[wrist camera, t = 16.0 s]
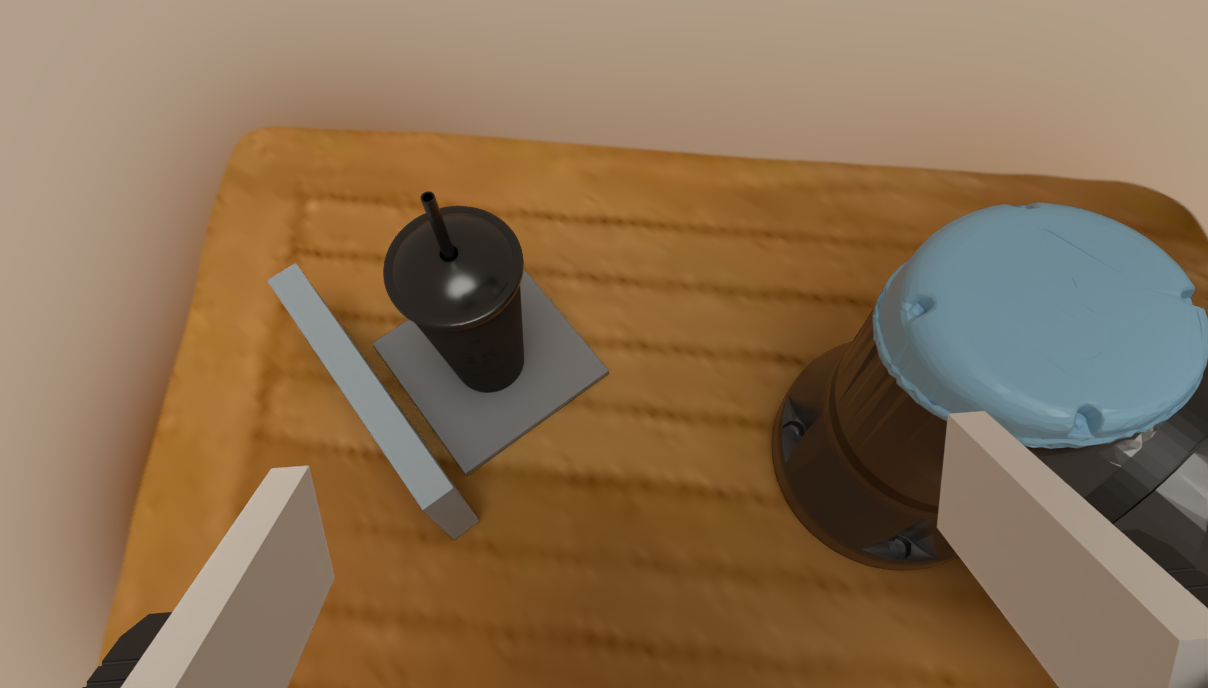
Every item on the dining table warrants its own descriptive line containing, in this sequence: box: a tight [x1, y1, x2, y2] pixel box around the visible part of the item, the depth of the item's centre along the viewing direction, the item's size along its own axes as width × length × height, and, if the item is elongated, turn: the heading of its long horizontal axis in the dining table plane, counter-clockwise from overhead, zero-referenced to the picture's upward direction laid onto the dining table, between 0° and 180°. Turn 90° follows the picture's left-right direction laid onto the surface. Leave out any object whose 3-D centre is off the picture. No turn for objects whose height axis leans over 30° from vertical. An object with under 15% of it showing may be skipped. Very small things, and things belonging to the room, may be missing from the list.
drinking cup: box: [383, 192, 524, 393], centre depth 47 cm, size 8×8×20 cm
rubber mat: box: [372, 269, 609, 476], centre depth 56 cm, size 12×12×1 cm
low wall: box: [267, 263, 479, 540], centre depth 51 cm, size 2×18×9 cm, turn 38°
